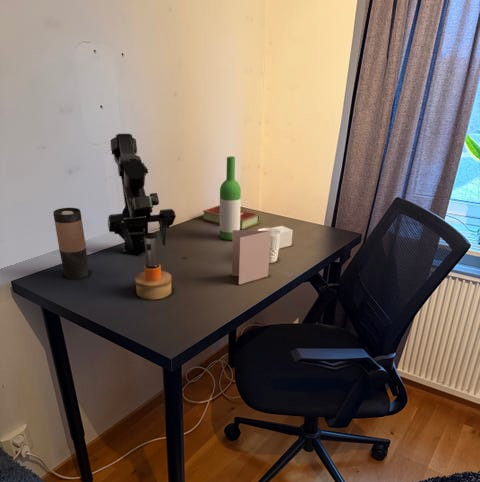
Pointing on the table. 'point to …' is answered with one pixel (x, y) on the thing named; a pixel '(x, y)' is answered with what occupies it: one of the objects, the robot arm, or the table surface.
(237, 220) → the wine bottle
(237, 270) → the greeting card
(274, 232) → the white cup
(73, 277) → the travel mug
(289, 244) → the cream cube
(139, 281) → the birch box
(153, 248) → the torch
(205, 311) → the table surface
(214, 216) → the hardcover book
